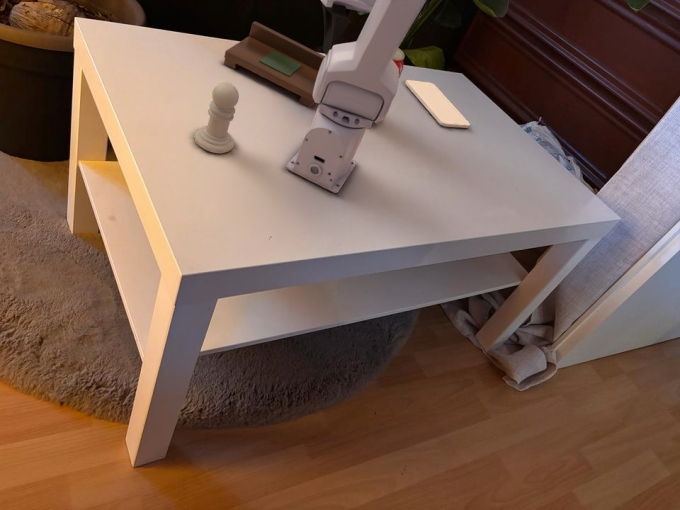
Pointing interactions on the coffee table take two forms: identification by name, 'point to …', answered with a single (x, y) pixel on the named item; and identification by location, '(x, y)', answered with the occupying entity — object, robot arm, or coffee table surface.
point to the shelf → (277, 60)
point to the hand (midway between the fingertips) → (348, 56)
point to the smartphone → (437, 104)
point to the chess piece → (219, 120)
